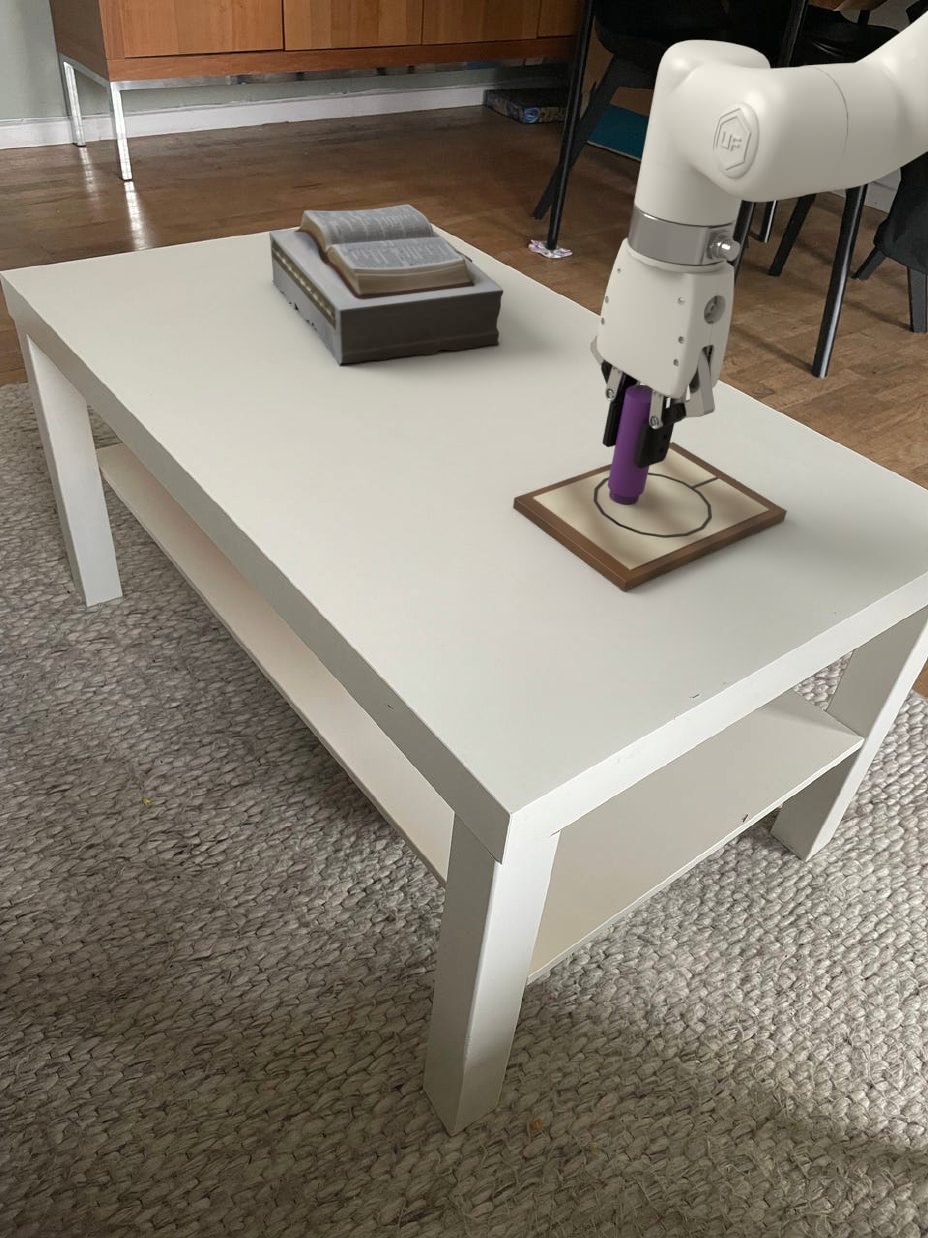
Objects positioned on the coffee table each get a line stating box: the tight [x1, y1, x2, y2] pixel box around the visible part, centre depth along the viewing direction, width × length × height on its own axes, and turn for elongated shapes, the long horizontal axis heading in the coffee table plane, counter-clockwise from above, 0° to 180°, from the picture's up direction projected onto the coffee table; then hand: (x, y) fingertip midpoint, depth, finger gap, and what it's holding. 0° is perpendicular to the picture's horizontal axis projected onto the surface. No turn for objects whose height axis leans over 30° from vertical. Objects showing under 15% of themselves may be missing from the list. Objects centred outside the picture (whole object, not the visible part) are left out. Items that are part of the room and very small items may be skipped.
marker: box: [608, 384, 653, 505], centre depth 85 cm, size 3×3×10 cm
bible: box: [268, 204, 504, 367], centre depth 115 cm, size 23×27×10 cm
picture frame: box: [512, 441, 788, 592], centre depth 88 cm, size 20×14×1 cm
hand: (633, 450), depth 86 cm, fingers closed on marker, 3 cm apart
